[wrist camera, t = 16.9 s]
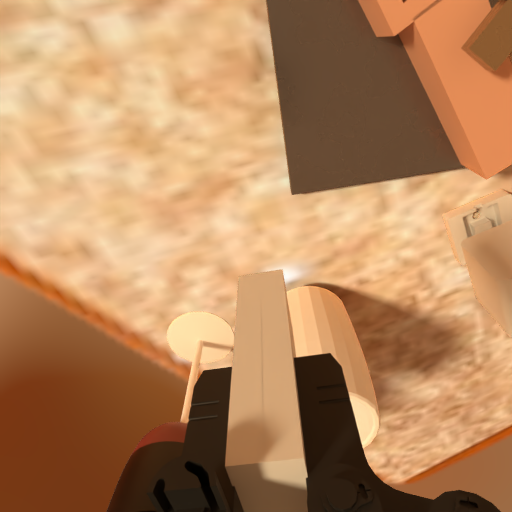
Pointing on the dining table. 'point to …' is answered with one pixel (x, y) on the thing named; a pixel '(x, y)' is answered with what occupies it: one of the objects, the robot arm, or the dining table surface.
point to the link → (454, 75)
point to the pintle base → (361, 94)
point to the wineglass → (173, 434)
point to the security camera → (486, 251)
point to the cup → (335, 349)
